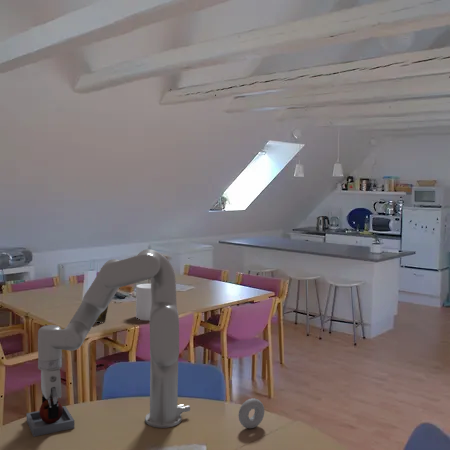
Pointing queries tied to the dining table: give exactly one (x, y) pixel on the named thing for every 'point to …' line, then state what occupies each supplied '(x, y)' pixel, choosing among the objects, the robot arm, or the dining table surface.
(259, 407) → the donut
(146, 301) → the canister
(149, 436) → the dining table surface
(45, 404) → the apple
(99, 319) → the ceramic cup
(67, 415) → the tray
